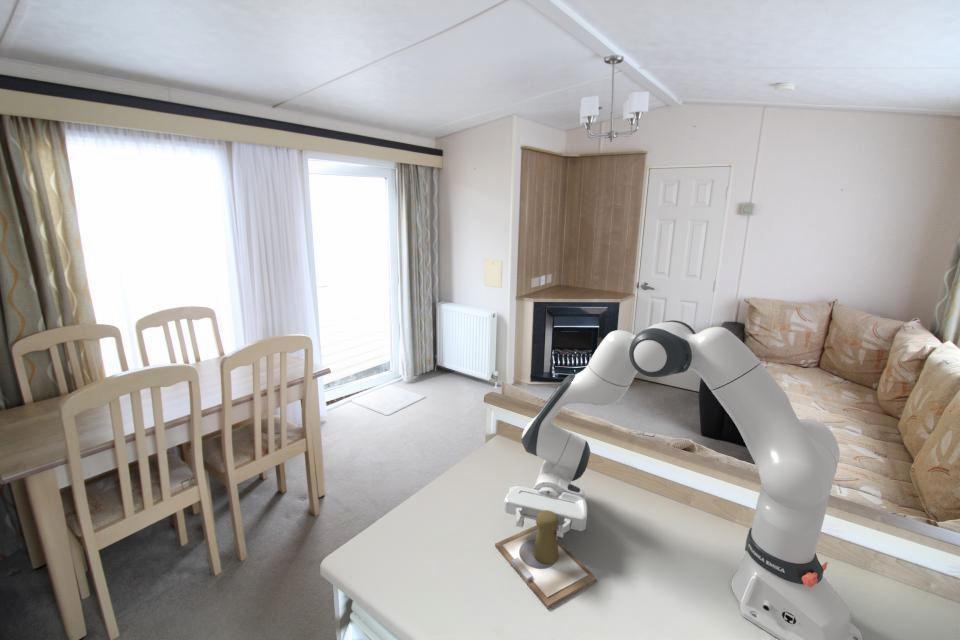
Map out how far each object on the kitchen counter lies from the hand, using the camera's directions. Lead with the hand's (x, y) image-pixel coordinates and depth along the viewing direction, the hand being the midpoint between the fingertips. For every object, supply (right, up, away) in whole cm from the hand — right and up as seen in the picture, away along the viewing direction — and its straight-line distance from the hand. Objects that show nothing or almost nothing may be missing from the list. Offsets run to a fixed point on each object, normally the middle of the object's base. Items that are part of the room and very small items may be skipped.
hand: (539, 529), depth 104 cm
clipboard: (+1, -8, +1) cm, 9 cm away
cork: (+2, -7, +2) cm, 8 cm away
